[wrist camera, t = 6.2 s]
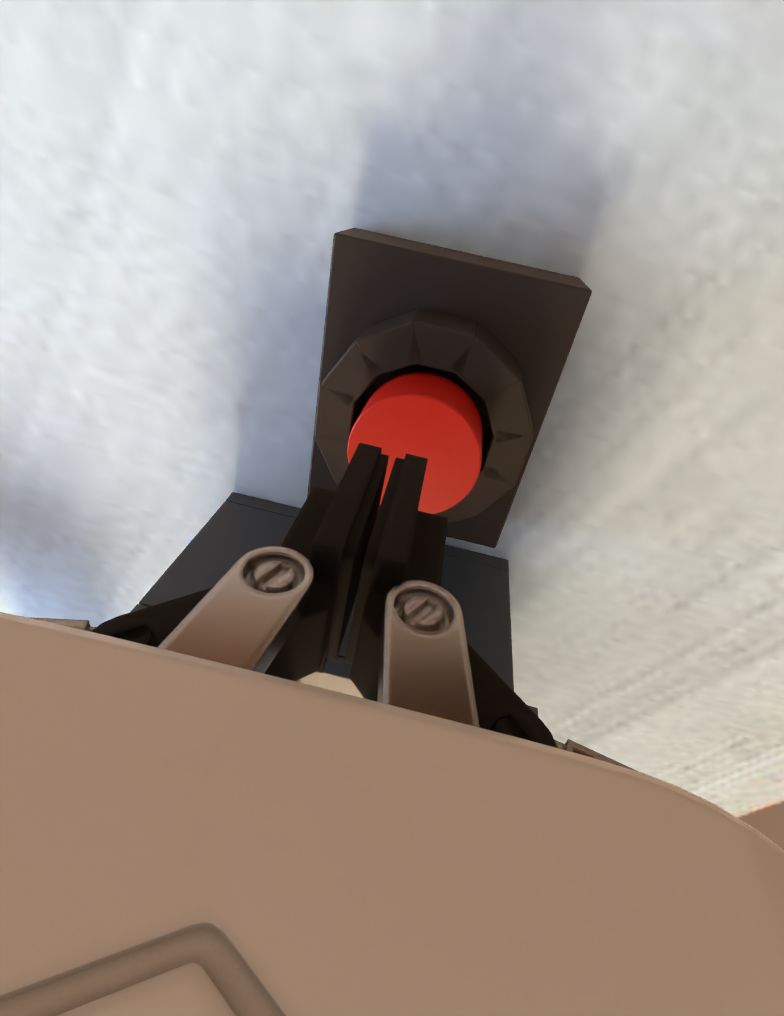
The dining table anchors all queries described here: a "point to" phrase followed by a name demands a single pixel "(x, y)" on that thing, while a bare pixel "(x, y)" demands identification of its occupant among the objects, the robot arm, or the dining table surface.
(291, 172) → the dining table surface
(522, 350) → the black button base
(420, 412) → the button
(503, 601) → the box
